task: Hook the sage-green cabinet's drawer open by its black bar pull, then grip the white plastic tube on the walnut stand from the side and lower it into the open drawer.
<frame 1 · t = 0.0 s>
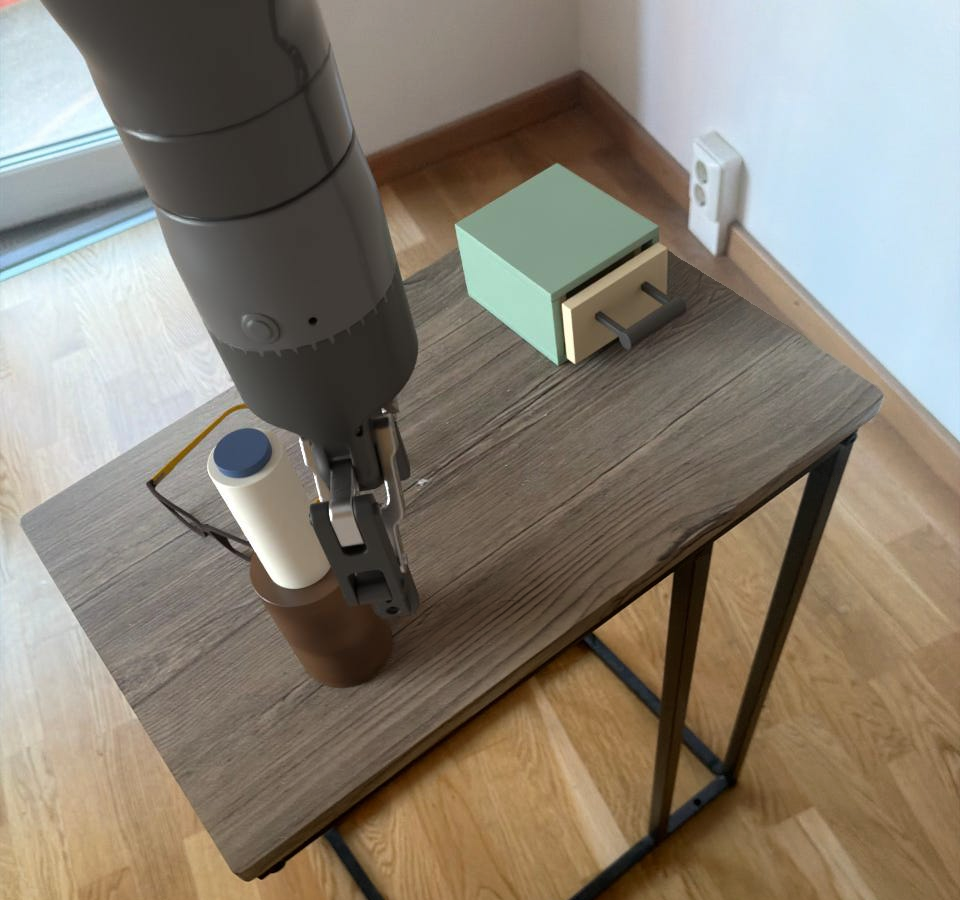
hand: (395, 539, 48), 21 cm above the table, tool pointing down, fingers open, 8 cm apart
eyeglasses: (273, 492, 79), on the table
cabinet: (561, 298, 86), on the table
tube: (300, 561, 60), point 11 cm above the table, touching stand
drawer: (591, 286, 81), point 4 cm above the table, slide at 0.5 cm
stand: (347, 646, 70), on the table
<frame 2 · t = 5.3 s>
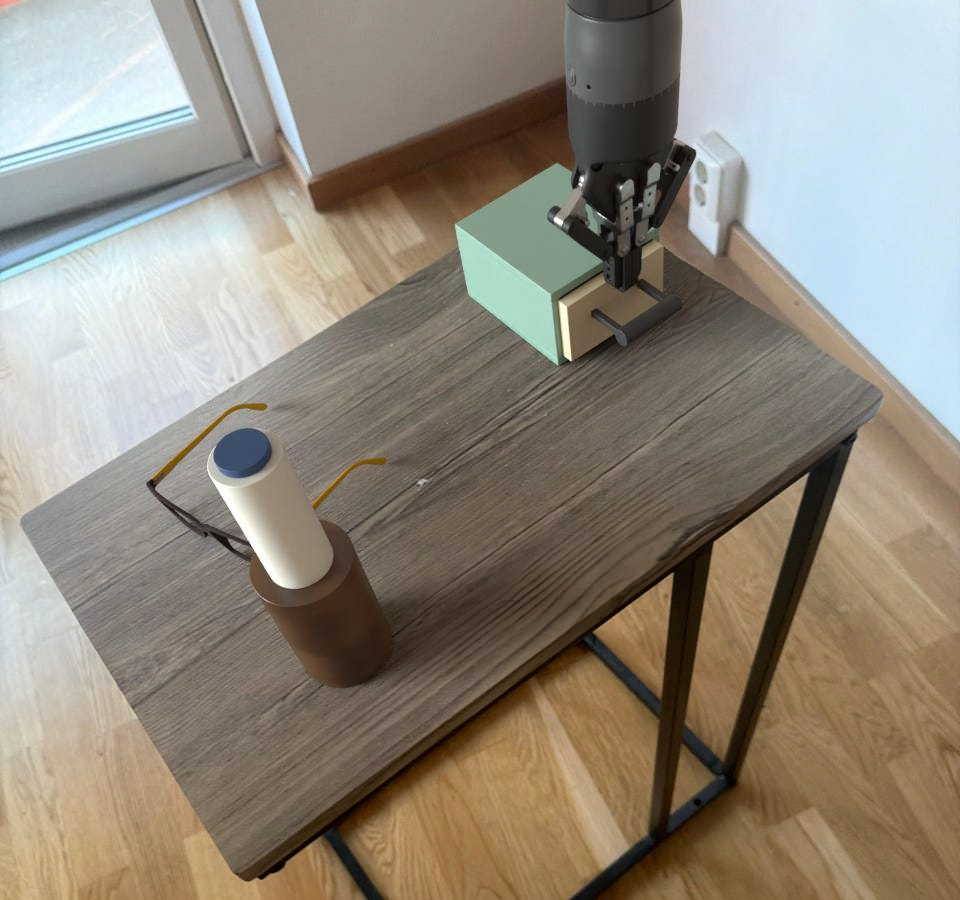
hand: (622, 283, 76), 7 cm above the table, tool pointing down, fingers closed
drawer: (587, 283, 81), point 4 cm above the table, slide at 0.0 cm, touching cabinet, gripper
everything else where it was.
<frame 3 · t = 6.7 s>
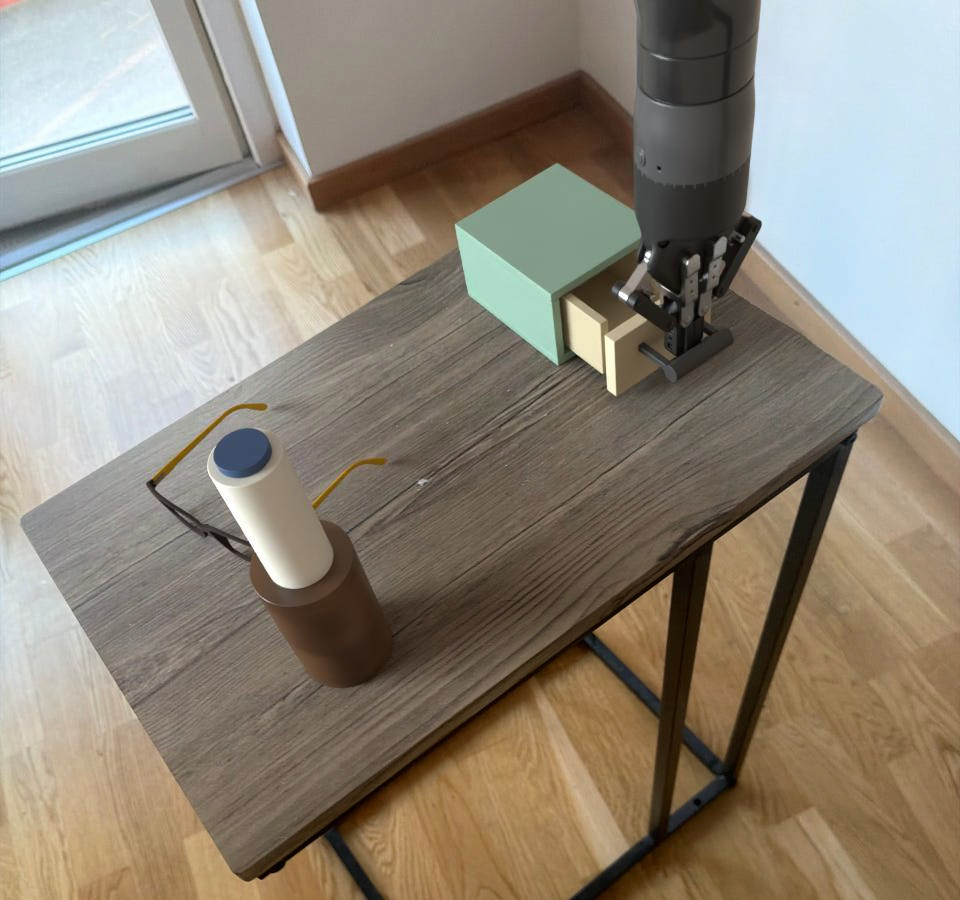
hand: (683, 351, 75), 4 cm above the table, tool pointing down, fingers closed
drawer: (632, 315, 78), point 4 cm above the table, slide at 5.8 cm, touching gripper
everything else where it was.
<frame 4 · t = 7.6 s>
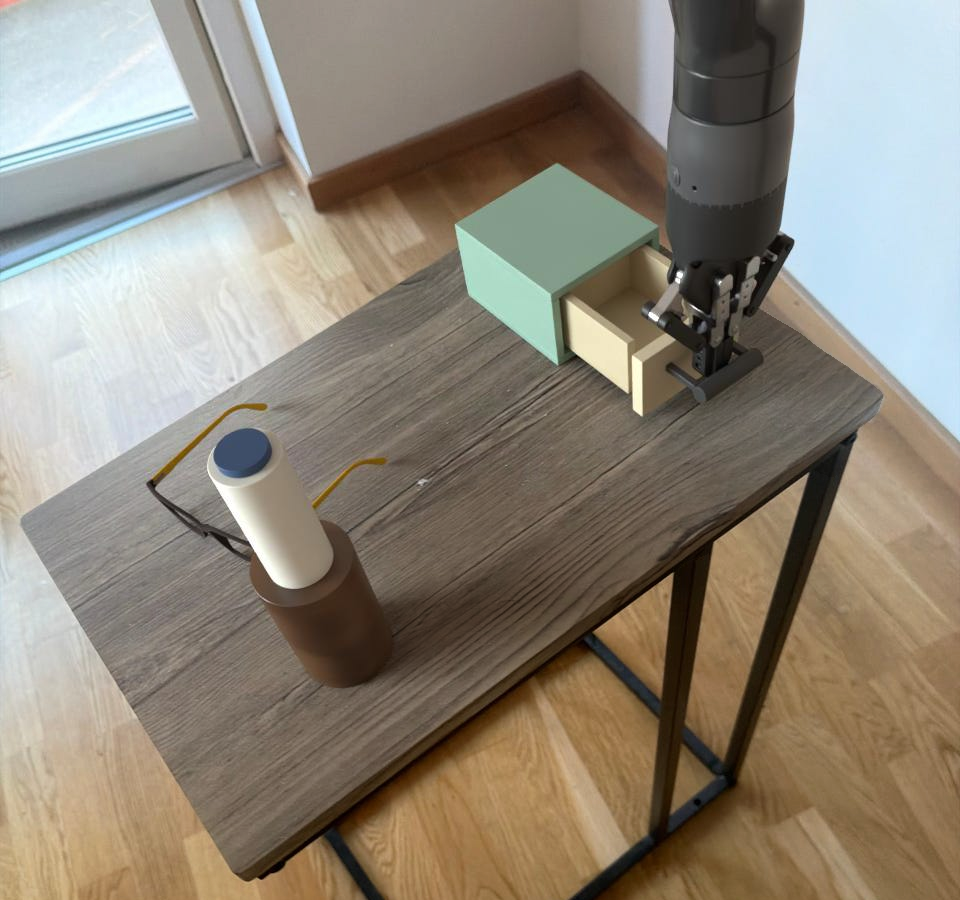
hand: (711, 370, 73), 4 cm above the table, tool pointing down, fingers closed
drawer: (658, 334, 76), point 4 cm above the table, slide at 9.1 cm, touching gripper
everything else where it was.
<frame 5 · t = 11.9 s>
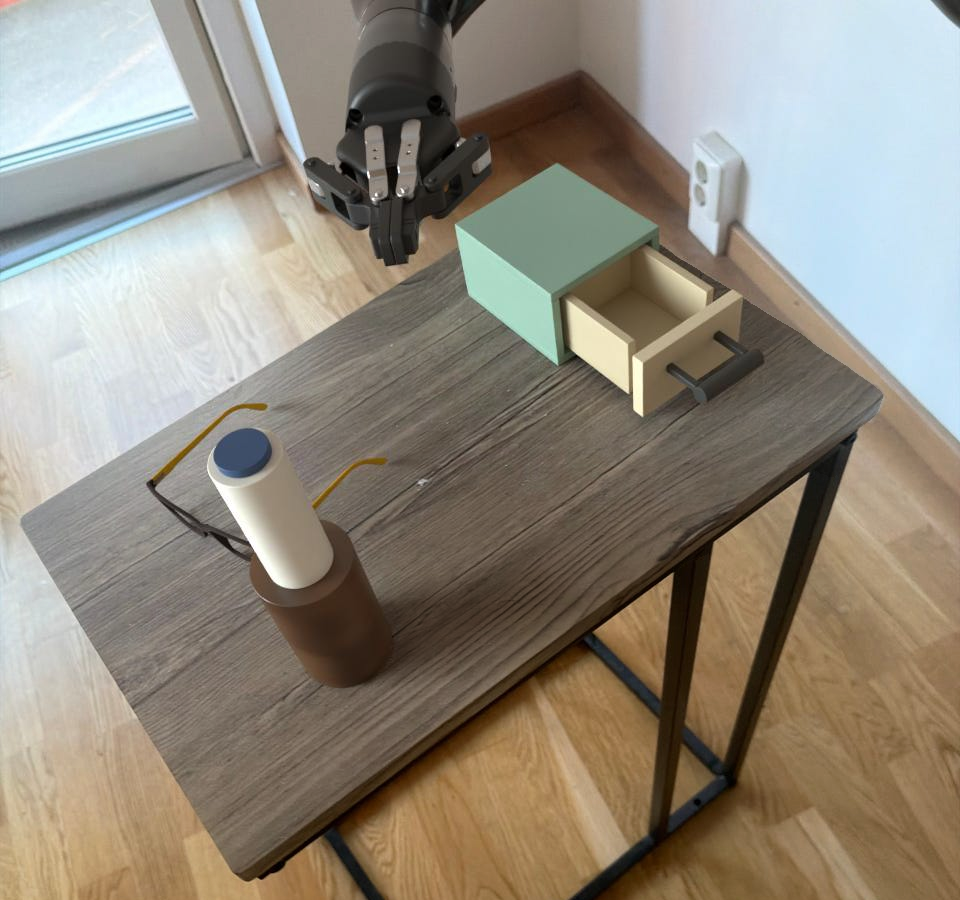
hand: (393, 253, 57), 22 cm above the table, tool horizontal, fingers closed
drawer: (659, 334, 76), point 4 cm above the table, slide at 9.1 cm
everything else where it was.
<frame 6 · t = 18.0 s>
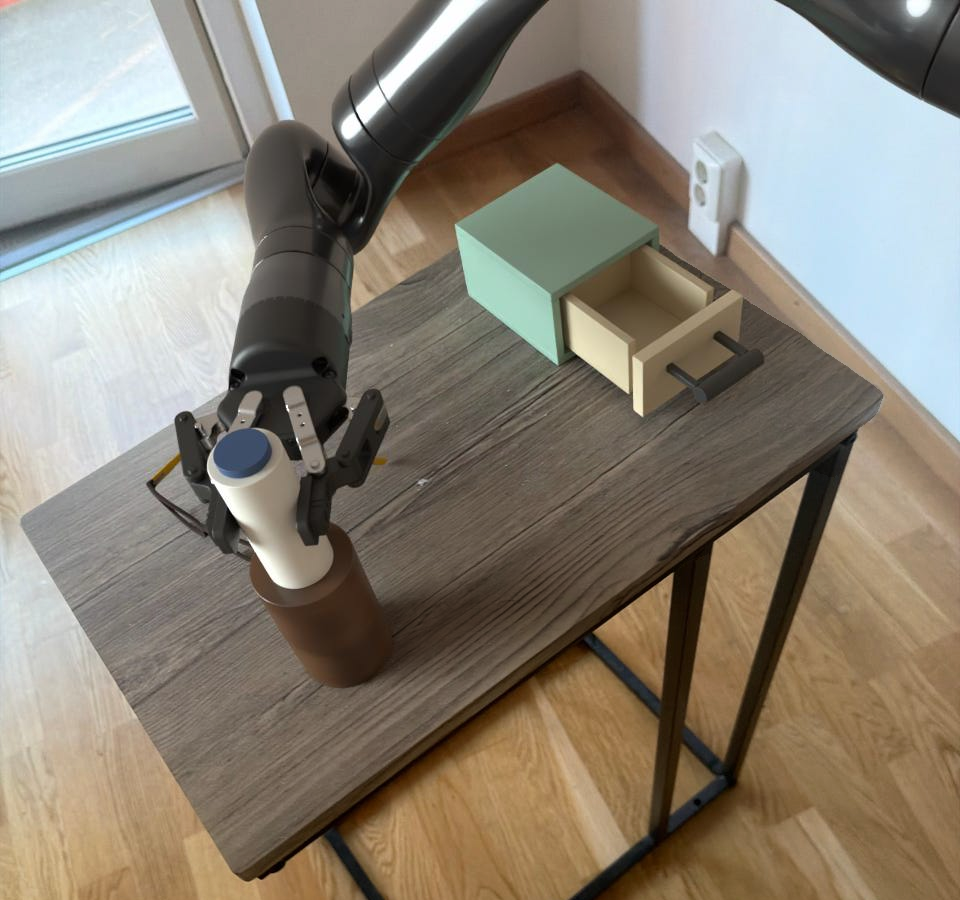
hand: (265, 540, 54), 17 cm above the table, tool horizontal, fingers closed on tube, 4 cm apart
tube: (300, 561, 60), point 11 cm above the table, touching gripper, stand
everything else where it was.
when the fingers open (9 cm above the table, at t = 29.9 s): tube drops 1 cm, resting on drawer.
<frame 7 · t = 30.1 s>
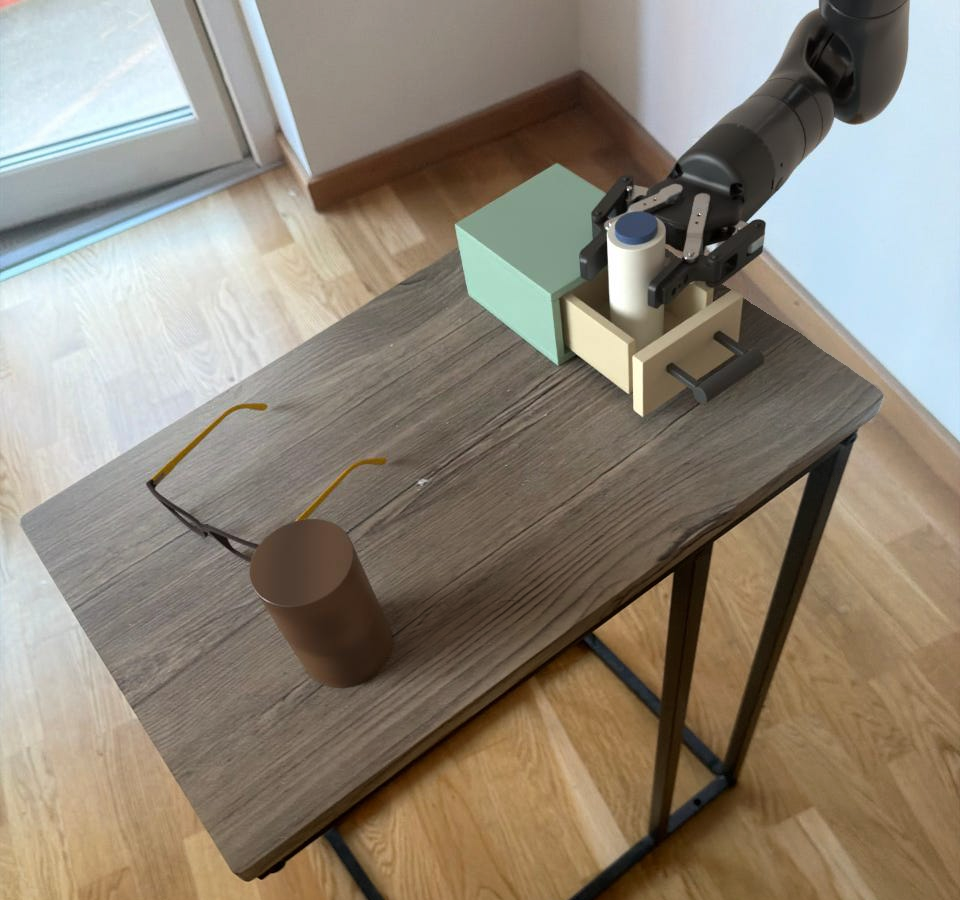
hand: (617, 283, 72), 9 cm above the table, tool horizontal, fingers open, 6 cm apart
tube: (637, 335, 79), point 2 cm above the table, touching drawer
drawer: (659, 334, 76), point 4 cm above the table, slide at 9.1 cm, touching tube
everything else where it was.
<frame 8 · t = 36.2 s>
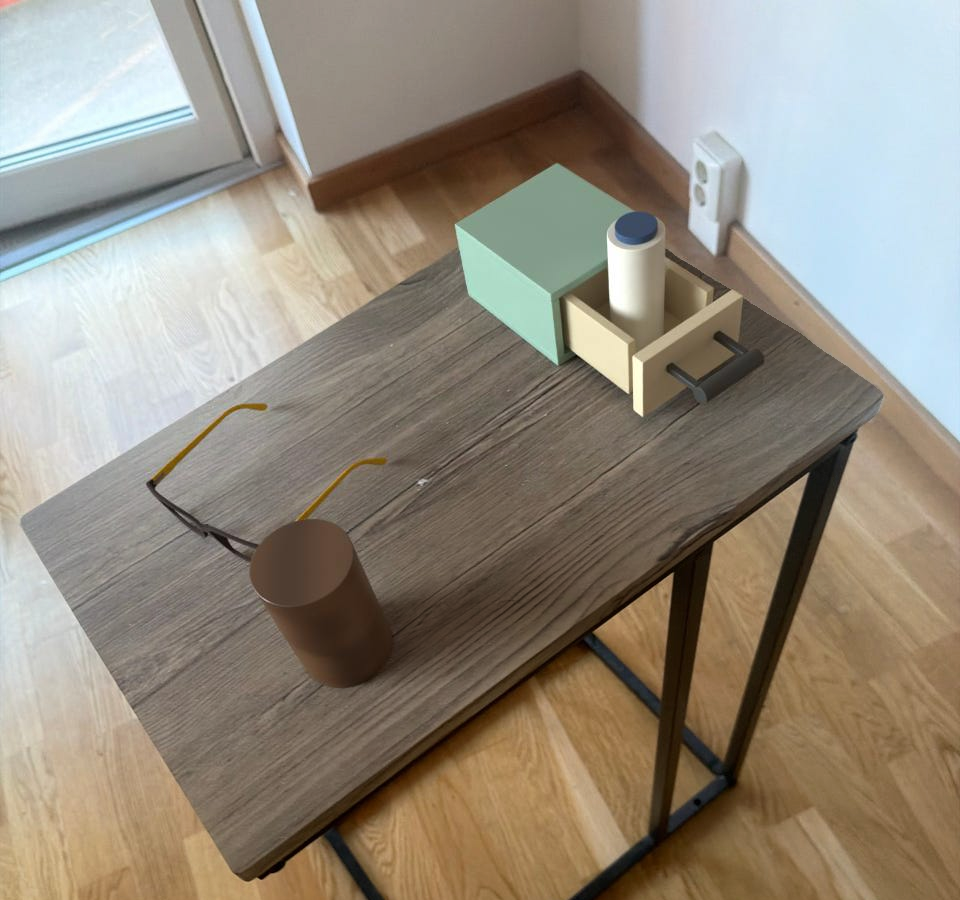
nothing on the table moved.
at the end: drawer slide at 9.1 cm; tube inside the target area in the drawer (0.1 cm from its centre), point 2.0 cm above the cabinet's base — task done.
